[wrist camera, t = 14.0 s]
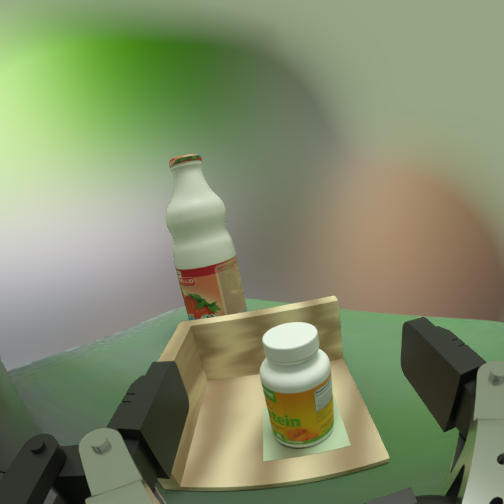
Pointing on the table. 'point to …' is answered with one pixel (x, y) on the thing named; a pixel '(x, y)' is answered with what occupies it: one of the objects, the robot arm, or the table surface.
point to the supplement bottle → (297, 385)
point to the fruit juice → (202, 244)
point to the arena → (260, 406)
